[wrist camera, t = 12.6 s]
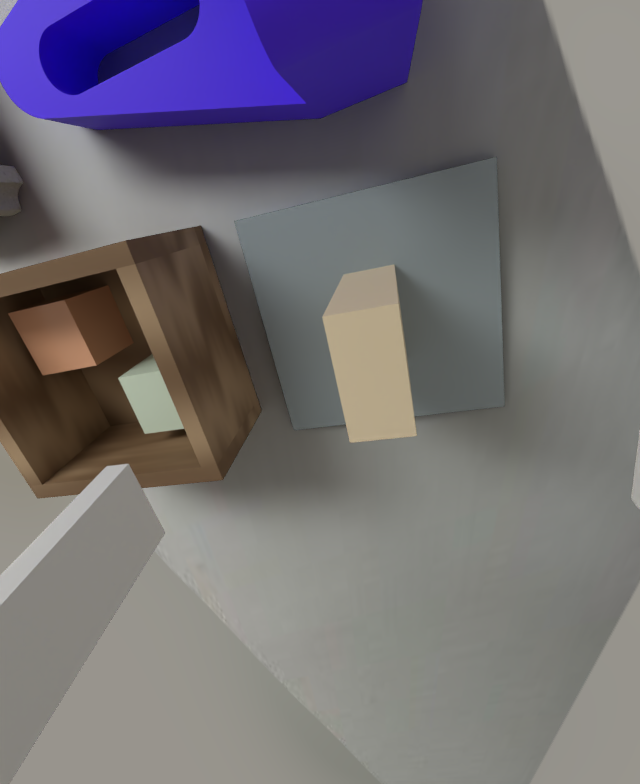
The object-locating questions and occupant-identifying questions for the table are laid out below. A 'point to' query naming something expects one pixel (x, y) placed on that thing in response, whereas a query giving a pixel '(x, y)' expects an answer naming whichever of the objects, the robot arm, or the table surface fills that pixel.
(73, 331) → the terracotta cube
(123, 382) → the sage cube
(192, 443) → the box
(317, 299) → the lid
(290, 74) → the bracket
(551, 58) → the table surface
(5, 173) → the egg carton
